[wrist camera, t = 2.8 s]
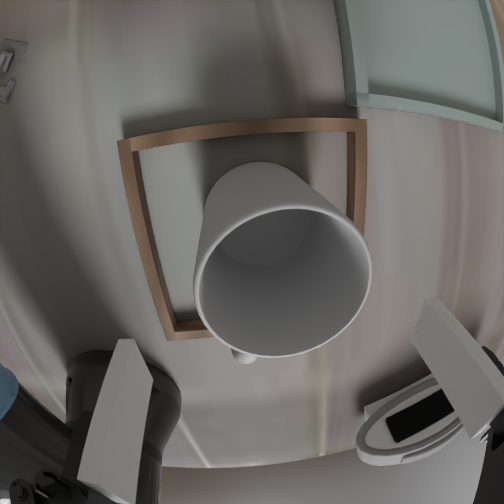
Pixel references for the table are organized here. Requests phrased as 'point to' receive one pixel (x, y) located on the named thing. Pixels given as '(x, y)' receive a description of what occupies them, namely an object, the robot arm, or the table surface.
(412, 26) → the tray
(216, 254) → the mug
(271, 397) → the table surface
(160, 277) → the frame
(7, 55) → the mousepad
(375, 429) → the alarm clock
